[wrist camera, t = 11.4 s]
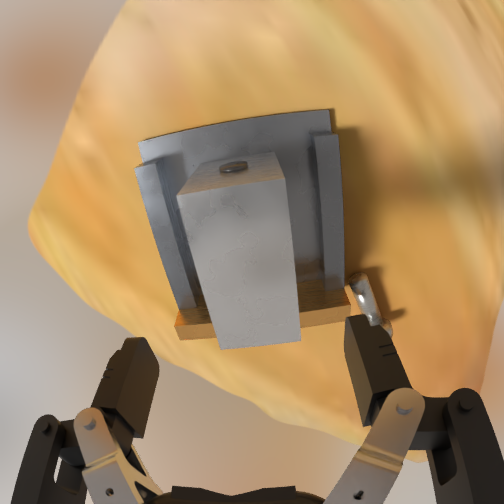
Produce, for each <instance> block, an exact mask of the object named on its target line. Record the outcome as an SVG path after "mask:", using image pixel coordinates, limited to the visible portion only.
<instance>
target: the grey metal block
mask: <svg viewBox="0 0 504 504" xmlns="http://www.w3.org/2000/svg"><path fill="white" fill-rule="evenodd" d="M176 197H177V201H178V205H179V209H180V213H181V216H182V220H183V224H184V228H185V232H186V235H187V239H188V243H189V246H190V250H191V253H192V257H193V261H194V264H195V268H196V271H197V274H198V278H199V281H200V285H201V288H202V291H203V295H204V298H205V301H206V305H207V308H208V311H209V314H210V317H211V321H212V324H213V327H214V330H215V333H216V336H217V339H218V342H219V345H220V348H221V350H223V349H234V348H245V347H255V346H264V345H273V344H281V343H289V342H296V341H301V332H300V319H299V307H298V295H297V284H296V273H295V263H294V253H293V243H292V234H291V225H290V216H289V207H288V199H287V191H286V183H285V177H284V175H283V172H282V170H281V167H280V164H279V162H278V159H277V157H276V154H275V152H268V153H261V154H254V155H247V156H241V157H235V158H229V159H223V160H217V161H211V162H206V163H201V164H200V165H199V166H198V167H197V169H196V170H195V171H194V173H193V174H192V175H191V176H190V178H189V179H188V180H187V182H186V183H185V185H184V186H183V187H182V189H181V190H180V191H179V193H178V194H177V195H176Z"/></svg>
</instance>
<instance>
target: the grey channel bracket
mask: <svg viewBox="0 0 504 504" xmlns="http://www.w3.org/2000/svg"><path fill="white" fill-rule="evenodd" d="M138 145H139V149H140V153H141V157H142V161H143V163H142V164H140V165H139V166H137V167H136V168H134V169H135V173H136V177H137V180H138V184H139V188H140V191H141V195H142V198H143V202H144V205H145V209H146V212H147V216H148V219H149V222H150V225H151V229H152V232H153V235H154V238H155V241H156V245H157V248H158V251H159V254H160V257H161V260H162V263H163V266H164V269H165V272H166V274H167V277H168V280H169V283H170V286H171V289H172V291H173V294H174V297H175V300H176V302H177V305H178V308H179V312H178V315H177V319H176V322H175V325H174V327H175V329H176V332H177V334H178V336H179V339H180V340H193V339H206V338H217V336H216V333H215V330H214V327H213V324H212V321H211V317H210V314H209V311H208V308H207V305H206V301H205V298H204V295H203V291H202V288H201V285H200V281H199V278H198V274H197V271H196V268H195V264H194V261H193V257H192V253H191V250H190V246H189V243H188V239H187V235H186V232H185V228H184V224H183V220H182V216H181V213H180V209H179V205H178V201H177V197H176V195H177V194H178V193H179V191H180V190H181V189H182V187H183V186H184V185H185V183H186V182H187V180H188V179H189V178H190V176H191V175H192V174H193V173H194V171H195V170H196V169H197V167H198V166H199V165H200V164H201V163H206V162H211V161H217V160H223V159H229V158H235V157H241V156H247V155H254V154H261V153H268V152H275V154H276V157H277V159H278V162H279V164H280V167H281V170H282V172H283V175H284V177H285V183H286V191H287V199H288V207H289V216H290V225H291V234H292V243H293V253H294V263H295V273H296V284H297V295H298V307H299V319H300V328H304V327H311V326H317V325H324V324H330V323H336V322H342V321H345V319H346V317H349V316H350V311H351V304H350V302H349V299H348V297H347V294H346V292H345V289H344V216H343V194H342V177H341V163H340V150H339V139H338V134H336V133H334V132H331V123H330V115H329V110H317V111H305V112H295V113H286V114H278V115H270V116H263V117H256V118H249V119H243V120H236V121H231V122H225V123H219V124H214V125H209V126H204V127H199V128H194V129H190V130H185V131H181V132H176V133H172V134H168V135H164V136H160V137H156V138H152V139H148V140H144V141H141V142H138Z"/></svg>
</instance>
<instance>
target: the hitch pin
mask: <svg viewBox="0 0 504 504" xmlns="http://www.w3.org/2000/svg"><path fill="white" fill-rule="evenodd" d="M349 285H350V287H351V289H352V292H353V294H354V296H355V299H356V301H357V304H358V306H359V308H360V311H361V313H362V314H365V315H366V316H367V318H368V321H369V323H370V326H375V325H380V326H382V327H383V328H384V329H385V330H386V331H387V332H388V333H389V335H390V337H391V338H392V336H393V329H392V325H391V323H390V321H389V320H387V319H385V318H382V317H381V314H380V311H379V308H378V305H377V302H376V300H375V297H374V294H373V291H372V288H371V286H370V283H369V280H368V278H367V275H366V274H365V273H363V272H359V273H356V274H354V275H352V276H351V277H350V279H349Z"/></svg>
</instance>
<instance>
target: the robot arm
mask: <svg viewBox="0 0 504 504" xmlns="http://www.w3.org/2000/svg"><path fill="white" fill-rule="evenodd" d="M344 353H345V358H346V362H347V366H348V369H349V373H350V377H351V380H352V384H353V388H354V392H355V396H356V400H357V404H358V408H359V412H360V416H361V420H362V424H363V427H365V426H369V425H371V427H372V428H371V430H370V432H369V434H368V435H367V437H366V439H365V441H364V443H363V444H362V446H361V448H360V449H359V450H358V451H357V453H356V454H355V456H354V457H353V459H352V461H351V462H350V464H349V465H348V467H347V469H346V470H345V472H344V473H343V475H342V477H341V478H340V480H339V481H338V483H337V484H336V486H335V487H334V489H333V490H332V491H331V493H330V495H329V496H328V497H327V499H326V500H325V499H323V498H321V497H319V496H316V495H313V494H310V493H306V492H299V491H296V488H295V486H288V487H276V488H262V489H259V490H256V491H251V492H247V493H243V494H238V495H234V496H229V495H224V494H220V493H216V492H213V491H209V490H205V489H202V488H192V487H180V486H172V492H168V493H163V491H162V490H161V489H160V488H159V486H158V485H157V484H156V483H155V482H154V481H153V480H152V478H151V477H150V475H149V473H148V471H147V470H146V468H145V466H144V465H143V462H142V461H141V459H140V457H139V455H138V453H137V451H136V449H135V447H134V446H133V444H132V441H133V437H134V438H143V437H144V433H145V428H146V424H147V420H148V416H149V412H150V408H151V403H152V400H153V396H154V392H155V388H156V384H157V380H158V377H159V364H158V361H157V359H156V357H155V355H154V353H153V351H152V349H151V348H150V346H149V344H148V342H147V340H146V339H145V338H144V337H134V338H127V339H126V340H125V341H124V344H123V346H122V348H121V350H117V351H116V352H115V353H114V355H113V356H112V357H111V358H110V360H109V362H108V364H107V367H106V370H105V372H104V374H103V378H102V379H101V382H100V384H99V387H98V389H97V392H96V394H95V397H94V400H93V402H92V405H91V407H90V408H86V409H84V410H82V411H81V412H80V413H78V414H77V416H76V418H75V419H73V420H67V421H61V422H59V421H58V420H57V419H56V418H55V417H54V416H53V415H44V416H42V417H40V418H39V419H38V420H37V422H36V423H35V425H34V428H33V430H32V433H31V436H30V439H29V442H28V445H27V448H26V451H25V454H24V457H23V460H22V464H21V467H20V470H19V474H18V477H17V481H16V484H15V488H14V492H13V496H12V500H11V504H85V499H86V494H87V489H88V491H89V493H90V496H91V498H92V501H93V503H94V504H383V502H384V501H385V498H386V497H387V495H388V494H389V492H390V490H391V488H392V486H393V484H394V482H395V480H396V478H397V477H398V475H399V472H400V470H401V468H402V465H403V460H404V458H405V456H406V454H407V451H408V450H426V453H427V457H428V461H429V466H430V470H431V475H432V480H433V485H434V491H435V496H436V502H437V504H504V460H503V457H502V454H501V451H500V448H499V444H498V441H497V438H496V436H495V433H494V430H493V427H492V424H491V422H490V419H489V416H488V414H487V412H486V409H485V406H484V404H483V401H482V399H481V397H480V395H479V394H478V393H477V392H475V391H474V390H472V389H469V388H461V389H458V390H456V391H454V392H453V393H452V394H451V395H450V397H444V398H432V397H425V396H422V395H421V394H420V393H419V392H418V391H416V390H414V389H413V388H412V386H411V384H410V382H409V380H408V377H407V375H406V372H405V370H404V367H403V365H402V363H401V360H400V358H399V356H398V354H397V351H396V349H395V346H394V345H393V342H392V339H391V337H390V335H389V333H388V332H387V331H386V330H385V329H384V328H383V327H382V326H380V325H375V326H370V323H369V321H368V318H367V316H366V315H365V314H361V315H355V316H349V317H346V319H345V334H344ZM58 457H60V458H61V459H62V461H61V465H60V469H59V473H58V477H57V481H56V483H55V481H54V472H55V469H56V465H57V460H58Z"/></svg>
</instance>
